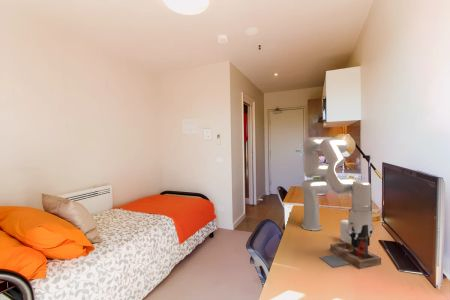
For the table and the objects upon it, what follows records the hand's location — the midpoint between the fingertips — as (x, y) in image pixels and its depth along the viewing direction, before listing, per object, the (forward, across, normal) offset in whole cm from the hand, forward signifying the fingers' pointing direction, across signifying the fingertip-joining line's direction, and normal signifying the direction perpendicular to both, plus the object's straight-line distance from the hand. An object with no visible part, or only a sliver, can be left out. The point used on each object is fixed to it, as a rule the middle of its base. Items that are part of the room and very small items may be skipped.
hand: (360, 245), depth 104 cm
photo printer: (+8, -9, -16) cm, 20 cm away
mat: (+7, +12, -3) cm, 14 cm away
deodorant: (+5, 0, 0) cm, 5 cm away
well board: (+7, 0, -3) cm, 8 cm away
